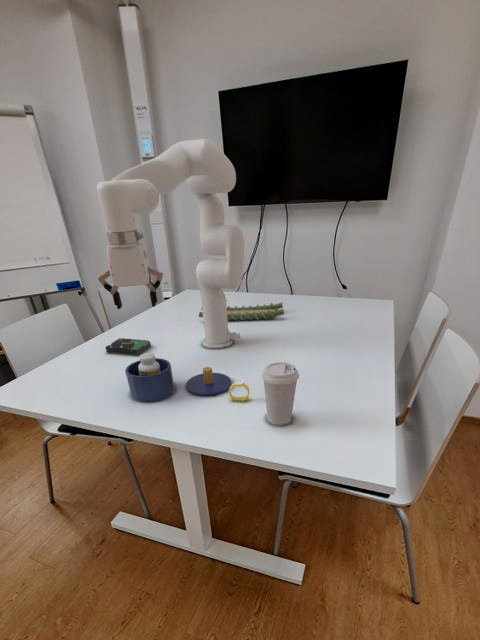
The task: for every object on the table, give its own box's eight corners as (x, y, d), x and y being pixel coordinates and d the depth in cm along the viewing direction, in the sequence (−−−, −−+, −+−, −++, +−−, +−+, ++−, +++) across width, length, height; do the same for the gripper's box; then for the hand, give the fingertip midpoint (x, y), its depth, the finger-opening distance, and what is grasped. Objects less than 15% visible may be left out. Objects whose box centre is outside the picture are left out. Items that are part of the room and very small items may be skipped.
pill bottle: (139, 393, 113) (131, 358, 106) (150, 383, 118) (143, 350, 111) (156, 396, 110) (149, 361, 104) (167, 386, 115) (161, 352, 109)
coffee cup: (287, 432, 92) (289, 380, 84) (255, 422, 97) (254, 372, 88) (302, 414, 99) (305, 364, 90) (272, 406, 103) (272, 358, 95)
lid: (229, 374, 122) (228, 357, 119) (233, 394, 110) (231, 377, 107) (187, 377, 121) (185, 361, 118) (185, 398, 109) (183, 381, 106)
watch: (229, 402, 106) (227, 384, 103) (230, 397, 109) (228, 380, 105) (249, 402, 106) (248, 384, 102) (249, 397, 108) (249, 380, 105)
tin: (175, 380, 120) (171, 356, 115) (172, 400, 109) (168, 375, 104) (135, 383, 119) (129, 359, 115) (128, 403, 108) (121, 378, 103)
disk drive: (106, 353, 143) (138, 356, 139) (104, 347, 141) (137, 349, 137) (120, 344, 151) (151, 346, 147) (119, 337, 149) (150, 339, 145)
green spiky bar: (282, 311, 178) (282, 301, 176) (284, 320, 166) (284, 309, 164) (202, 314, 181) (201, 304, 178) (198, 323, 169) (197, 312, 166)
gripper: (158, 235, 95) (168, 301, 104) (92, 239, 94) (109, 305, 104) (155, 238, 89) (166, 308, 98) (85, 243, 88) (103, 312, 97)
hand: (137, 306), depth 101 cm, fingers open, 9 cm apart
